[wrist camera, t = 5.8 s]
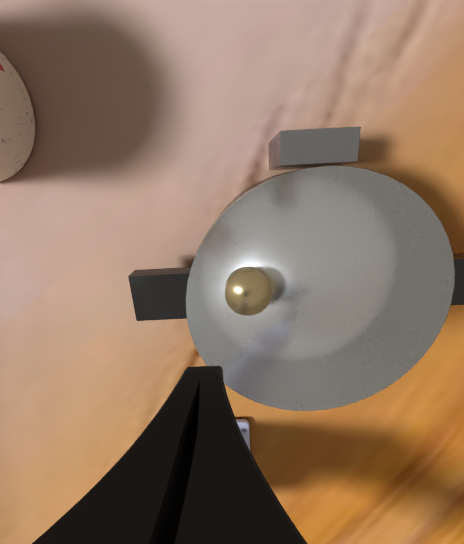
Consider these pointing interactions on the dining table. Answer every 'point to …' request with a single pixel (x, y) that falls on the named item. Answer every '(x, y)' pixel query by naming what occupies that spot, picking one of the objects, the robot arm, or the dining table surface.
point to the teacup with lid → (14, 121)
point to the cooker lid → (320, 287)
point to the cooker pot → (282, 155)
